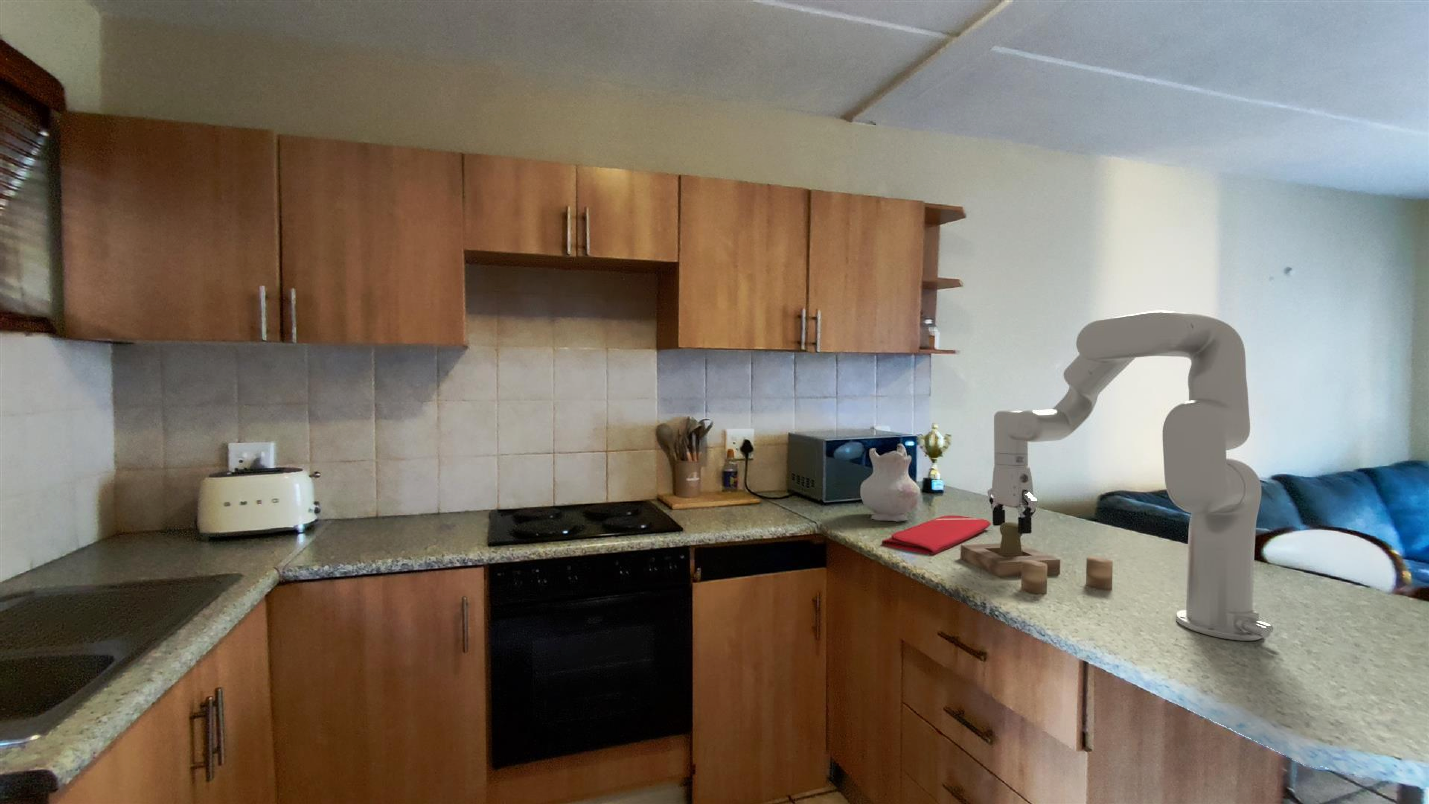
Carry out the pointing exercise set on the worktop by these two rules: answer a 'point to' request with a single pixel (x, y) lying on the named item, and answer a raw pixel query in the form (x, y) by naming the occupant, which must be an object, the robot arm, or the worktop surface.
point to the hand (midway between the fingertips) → (1011, 529)
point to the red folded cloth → (937, 534)
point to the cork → (1010, 540)
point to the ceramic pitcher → (890, 486)
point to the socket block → (1005, 559)
